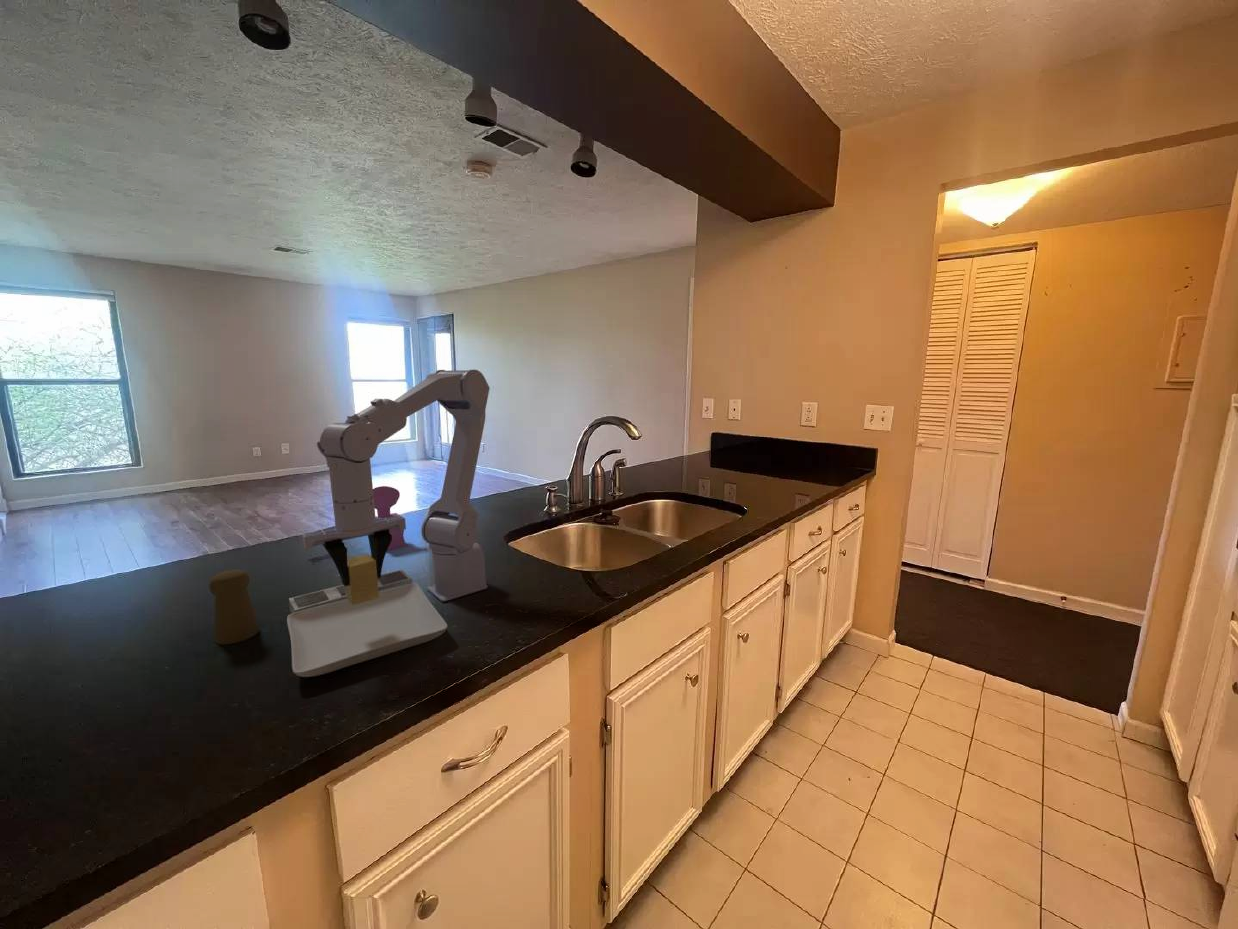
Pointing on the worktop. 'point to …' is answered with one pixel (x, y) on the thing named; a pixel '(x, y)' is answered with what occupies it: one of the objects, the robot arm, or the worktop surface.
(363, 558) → the yellow rectangular block
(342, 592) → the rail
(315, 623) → the salad plate
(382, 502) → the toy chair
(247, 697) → the worktop surface
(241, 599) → the cork
